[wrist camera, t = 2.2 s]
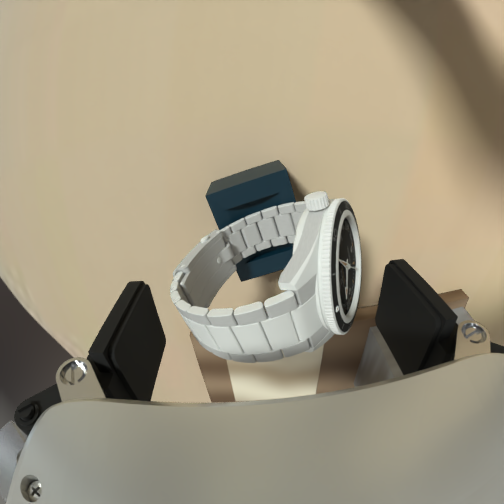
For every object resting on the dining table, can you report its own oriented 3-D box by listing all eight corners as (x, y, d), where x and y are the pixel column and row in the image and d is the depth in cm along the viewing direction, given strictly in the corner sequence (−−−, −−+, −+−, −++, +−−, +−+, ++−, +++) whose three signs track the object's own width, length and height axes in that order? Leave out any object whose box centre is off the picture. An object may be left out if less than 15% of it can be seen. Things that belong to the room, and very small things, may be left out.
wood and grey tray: (192, 322, 22) (170, 453, 12) (461, 289, 22) (524, 366, 11) (212, 391, 26) (206, 490, 16) (432, 356, 26) (471, 429, 16)
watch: (328, 229, 18) (403, 347, 9) (217, 264, 19) (199, 402, 10) (308, 149, 16) (403, 204, 6) (185, 190, 17) (116, 294, 7)
